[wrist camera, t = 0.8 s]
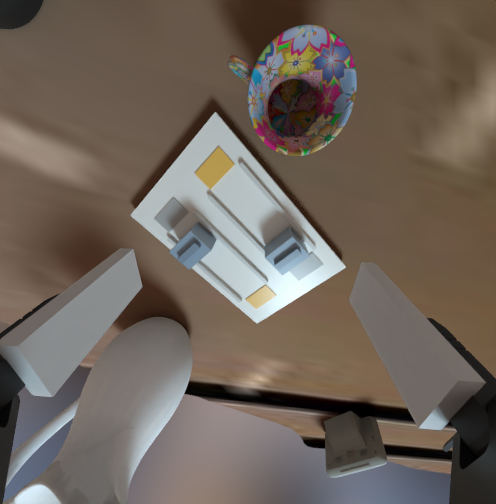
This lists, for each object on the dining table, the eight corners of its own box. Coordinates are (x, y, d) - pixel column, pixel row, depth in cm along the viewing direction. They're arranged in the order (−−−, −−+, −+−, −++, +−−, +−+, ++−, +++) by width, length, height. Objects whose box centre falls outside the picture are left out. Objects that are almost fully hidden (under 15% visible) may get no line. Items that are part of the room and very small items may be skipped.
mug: (339, 93, 26) (382, 65, 17) (298, 164, 30) (314, 173, 21) (255, 37, 25) (250, -29, 15) (223, 121, 29) (203, 109, 19)
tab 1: (178, 241, 35) (166, 254, 30) (198, 221, 33) (188, 233, 29) (196, 257, 36) (187, 272, 32) (216, 239, 34) (210, 252, 30)
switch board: (137, 211, 35) (127, 216, 33) (218, 113, 28) (213, 111, 26) (257, 316, 44) (256, 326, 42) (342, 261, 37) (347, 269, 34)
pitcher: (188, 301, 44) (89, 509, 19) (209, 356, 51) (158, 557, 26) (86, 312, 47) (-113, 500, 22) (120, 362, 54) (-1, 545, 29)
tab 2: (264, 246, 34) (264, 260, 30) (289, 226, 32) (293, 238, 28) (280, 262, 35) (282, 278, 31) (305, 244, 33) (311, 258, 29)
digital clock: (324, 434, 64) (335, 484, 54) (311, 419, 61) (319, 470, 51) (379, 422, 59) (401, 475, 49) (367, 405, 56) (389, 459, 46)
